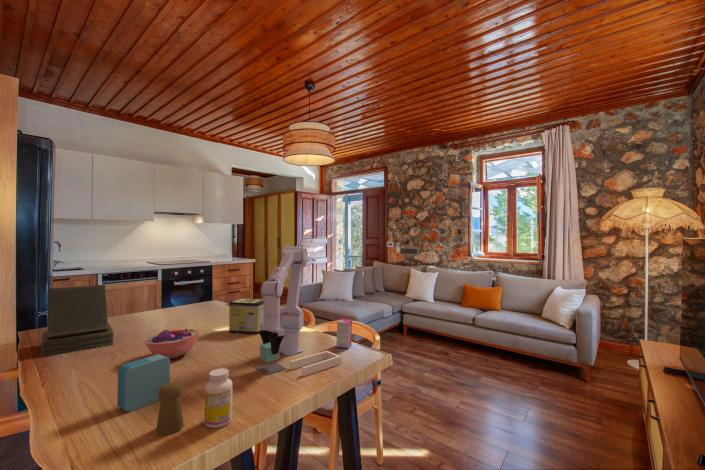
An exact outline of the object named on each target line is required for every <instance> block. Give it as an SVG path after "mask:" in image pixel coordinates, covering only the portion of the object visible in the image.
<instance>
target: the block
mask: <svg viewBox="0 0 705 470" xmlns="http://www.w3.org/2000/svg"><path fill="white" fill-rule="evenodd" d="M259 355H260V356H259V359H260V360H261V361H263V362H265V363H271V362H275V361H277V360H279V359H280V352H278V354H274V355H273V354H272V351H271V343H270V342H269V343H265V344H263V343H261V344H260V345H259Z"/></svg>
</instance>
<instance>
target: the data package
mask: <svg viewBox="0 0 705 470" xmlns="http://www.w3.org/2000/svg"><path fill="white" fill-rule="evenodd" d="M170 360H171V359H169V358H167V357H165V356H162V355H152V356H147V357H144V358H141V359H137V360H134V361H130V362H127V363H124V364H121V366H119V368H118V370H117V394H116V395H117V398H116V399H117V402H116V403H117V404H116V405H117V407H118V408H120V409H121V410H124V411H125V412H126V413H131V412H133V411H136V410H139V409H141V408H142V407H143V408H144V407H146V406H149V405H151V404H153V403H156V402H159V401H161V399H160V398H159V395H158V392H159V389H160V387H161V386H162V385H164V384H166V383H169V382H171V380H170V379H171V378H170V377H171V376H170V375H171V361H170Z"/></svg>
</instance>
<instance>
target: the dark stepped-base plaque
mask: <svg viewBox="0 0 705 470" xmlns="http://www.w3.org/2000/svg"><path fill="white" fill-rule="evenodd" d="M106 290H107V289H106V284H100V285H99V284H98V285H97V284H96V285H83V286H68V287H55V288H54V287H53V288H49V289H48V299H47V300H48V303H47V304H48V305H47V307H48V308H47V329H46V331H45V330H44V331H43V332H42V335H41V336H42V337H41V340H40V358H46V357H51V356H57V354H58V355H62V354H63V353H64V354H68V353H69V352H70V353H75V352H74V351H76V352H80V350H82V351H86V349H87V350H92V349H91V348H93V349H97V348H96V347H99V348H103V347H102V346H105V347H109V346H108V345H111V346H114V330H113V329H112V326H111V324H110V323H109V322H108V310H107V293H106V292H107V291H106ZM70 353H69V354H70ZM64 354H63V355H64Z"/></svg>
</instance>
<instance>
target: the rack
mask: <svg viewBox="0 0 705 470" xmlns="http://www.w3.org/2000/svg"><path fill="white" fill-rule="evenodd" d="M339 365H342V356H341V355H338V354H336V353H333V352H331V351H329V350H325V351H321V352H318V353H315V354H310V355H307V356H303V357H301V358H296V359H293V360H290V361H289V369H290V370H291V371H293V370H295V369H298V368H301V376H302V377H307V376H309V375H311V374H315V373H318V372H322V371H324V370H327V369H330V368H333V367H336V366H339Z"/></svg>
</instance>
